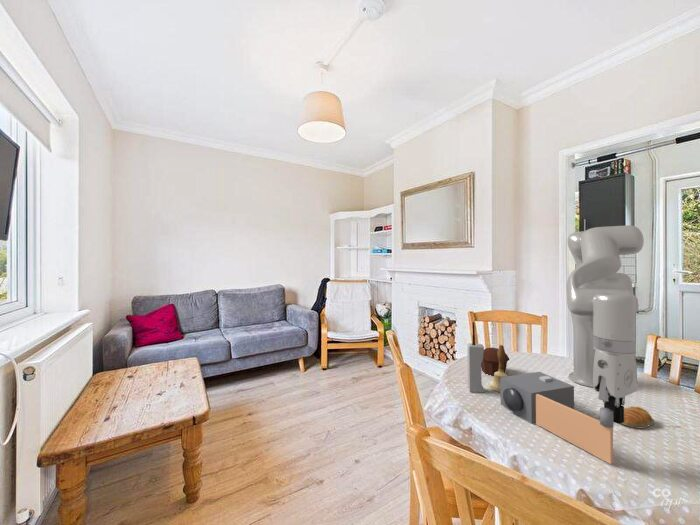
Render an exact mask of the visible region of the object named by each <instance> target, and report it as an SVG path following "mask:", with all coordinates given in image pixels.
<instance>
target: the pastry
mask: <svg viewBox="0 0 700 525" xmlns="http://www.w3.org/2000/svg"><path fill="white" fill-rule="evenodd" d="M654 422H655V420H654V419H653V417H652V416H651V414H650V413H649V411H648V410H646V409H644V408H642V407H640V406H632V405H631V406H628V407H624V422H623V423H621V424H622V425H624V426H626V427H629V428H632V427H645V428H647V427H646V426H648V425H650V426H652V425H654ZM621 424H620V425H621ZM651 424H652V425H651ZM648 427H649V426H648Z"/></svg>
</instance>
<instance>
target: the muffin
mask: <svg viewBox="0 0 700 525" xmlns="http://www.w3.org/2000/svg"><path fill="white" fill-rule="evenodd" d="M497 352H498V348H496V347H486V348H484V353H483V361H482V363H481V372H482V371H483V372H484V374H485V375H486V374H488V375H487V376H490V375H491V376H490V377H494V373H495V372H497V371H498V369H499V360H498V356H497ZM509 361H510V358H509V356H508V354H507V353H506V352H505V359H504V373H506V372H507V365H508V362H509ZM483 372H482V373H483Z"/></svg>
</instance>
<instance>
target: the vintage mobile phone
mask: <svg viewBox="0 0 700 525" xmlns="http://www.w3.org/2000/svg"><path fill="white" fill-rule="evenodd" d="M466 345H467V347H466V348H467V349H466V350H467V352H466V354H467V359H466V360H467V388H468V390H469V392H470V393H479V394H480V393H481V394H483V393H484V394H485V388H484V385H483V384H482V383H483V382H482V368H481V363H482V361H483V353H484V349H485V346H484V344H482V343H476V334H475V322H474V321H473V322H472V342H471V343H468V342H467V344H466Z"/></svg>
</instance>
